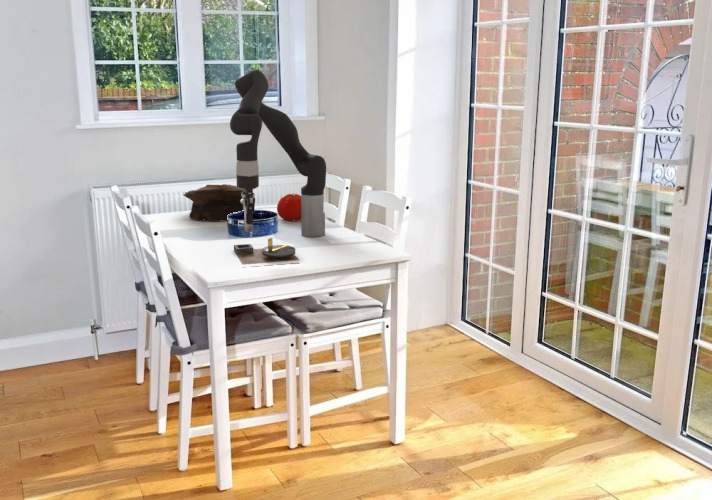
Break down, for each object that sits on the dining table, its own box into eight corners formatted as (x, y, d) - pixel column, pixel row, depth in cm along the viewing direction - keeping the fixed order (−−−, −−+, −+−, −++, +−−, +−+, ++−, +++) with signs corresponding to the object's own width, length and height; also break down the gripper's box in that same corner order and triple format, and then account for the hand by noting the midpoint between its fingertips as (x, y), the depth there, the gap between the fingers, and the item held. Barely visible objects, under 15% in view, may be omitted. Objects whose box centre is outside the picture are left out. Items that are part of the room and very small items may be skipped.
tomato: (280, 216, 330) (280, 191, 327) (310, 217, 328) (310, 192, 325) (273, 222, 317) (273, 196, 314) (304, 223, 315) (304, 197, 312)
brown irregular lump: (175, 225, 317) (170, 192, 314) (198, 214, 349) (195, 184, 346) (249, 221, 313) (246, 187, 310) (266, 210, 345) (263, 179, 342)
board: (287, 249, 270) (287, 241, 269) (299, 263, 251) (299, 254, 250) (233, 253, 263) (233, 244, 262) (242, 267, 245) (242, 258, 244)
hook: (254, 229, 248) (254, 198, 245) (256, 231, 246) (255, 200, 243) (241, 230, 247) (240, 199, 244) (242, 232, 244) (241, 200, 241)
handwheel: (255, 254, 252) (254, 236, 251) (274, 247, 263) (274, 230, 261) (282, 259, 247) (282, 241, 245) (301, 251, 257) (301, 234, 255)
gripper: (233, 170, 246) (234, 219, 251) (239, 176, 234) (241, 227, 238) (254, 170, 249) (255, 218, 253) (262, 175, 236) (263, 226, 240)
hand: (248, 222), depth 245 cm, fingers closed on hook, 2 cm apart
